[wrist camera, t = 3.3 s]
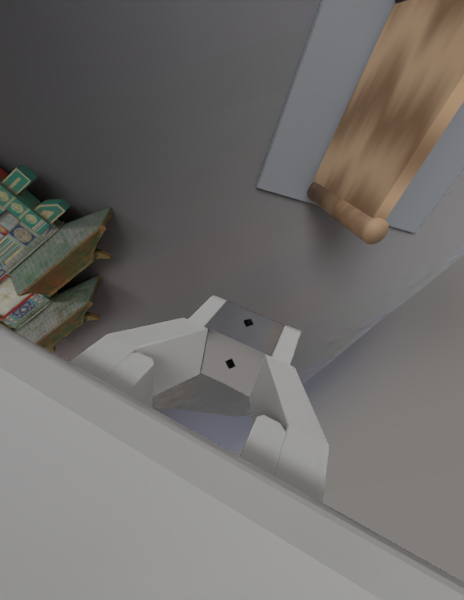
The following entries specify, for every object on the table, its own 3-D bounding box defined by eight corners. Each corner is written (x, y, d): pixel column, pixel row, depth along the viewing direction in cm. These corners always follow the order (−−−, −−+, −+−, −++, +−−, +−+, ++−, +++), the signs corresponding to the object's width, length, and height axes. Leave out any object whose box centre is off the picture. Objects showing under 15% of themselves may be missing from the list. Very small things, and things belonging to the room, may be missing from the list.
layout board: (255, 186, 28) (257, 188, 27) (469, -424, 12) (481, -442, 12) (412, 231, 37) (415, 233, 36) (651, -93, 21) (662, -96, 21)
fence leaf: (390, 1, 20) (540, -46, 13) (408, 14, 21) (561, -22, 13) (301, 196, 29) (359, 241, 21) (317, 200, 29) (378, 246, 22)
